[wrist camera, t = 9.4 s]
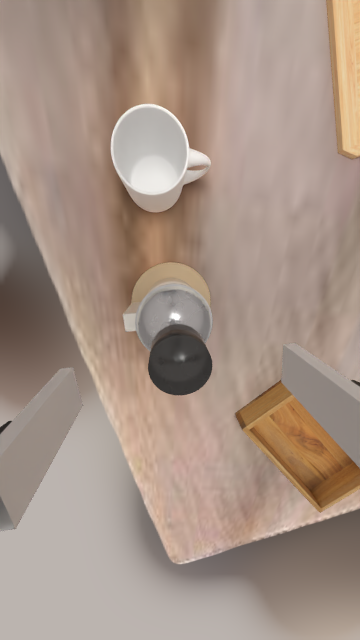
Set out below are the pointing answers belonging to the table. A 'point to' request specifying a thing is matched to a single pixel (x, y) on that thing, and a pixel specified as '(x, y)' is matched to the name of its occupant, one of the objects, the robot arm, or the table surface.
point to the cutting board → (345, 72)
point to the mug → (154, 156)
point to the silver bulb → (176, 341)
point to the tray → (299, 447)
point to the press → (161, 280)
